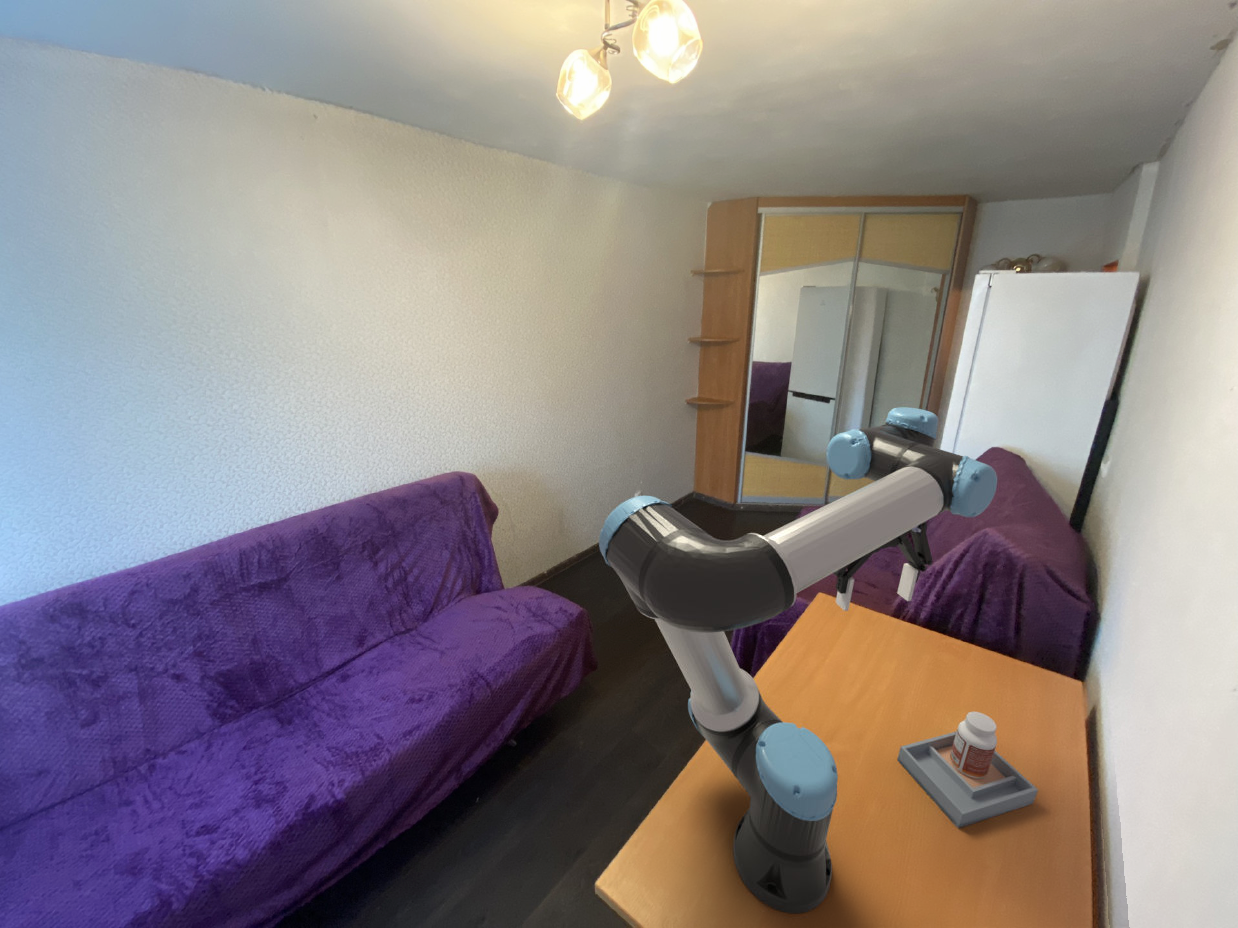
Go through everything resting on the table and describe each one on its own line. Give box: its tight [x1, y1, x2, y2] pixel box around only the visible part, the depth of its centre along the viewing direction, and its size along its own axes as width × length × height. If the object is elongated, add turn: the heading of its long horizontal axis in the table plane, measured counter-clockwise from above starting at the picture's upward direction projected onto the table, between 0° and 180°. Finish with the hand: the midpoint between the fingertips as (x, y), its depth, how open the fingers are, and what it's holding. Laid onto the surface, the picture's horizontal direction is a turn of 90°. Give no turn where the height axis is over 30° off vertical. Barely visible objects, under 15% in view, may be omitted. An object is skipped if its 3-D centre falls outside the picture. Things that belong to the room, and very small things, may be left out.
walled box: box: [896, 730, 1039, 829], centre depth 98 cm, size 17×14×4 cm
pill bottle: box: [950, 711, 998, 778], centre depth 99 cm, size 6×6×11 cm
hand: (873, 601), depth 98 cm, fingers open, 13 cm apart
